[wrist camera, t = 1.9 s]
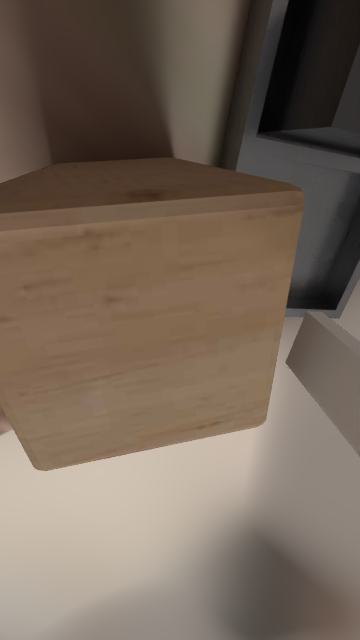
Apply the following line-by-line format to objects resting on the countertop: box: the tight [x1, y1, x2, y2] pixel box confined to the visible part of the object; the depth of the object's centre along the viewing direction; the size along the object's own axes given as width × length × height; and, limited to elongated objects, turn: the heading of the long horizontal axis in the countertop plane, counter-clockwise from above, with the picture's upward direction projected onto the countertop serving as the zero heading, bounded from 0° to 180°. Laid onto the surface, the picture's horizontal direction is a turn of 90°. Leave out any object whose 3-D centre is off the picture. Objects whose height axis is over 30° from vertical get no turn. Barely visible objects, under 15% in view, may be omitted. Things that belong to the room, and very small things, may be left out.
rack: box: [219, 0, 360, 318], centre depth 23 cm, size 17×24×11 cm
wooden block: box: [0, 157, 305, 471], centre depth 18 cm, size 10×10×20 cm
